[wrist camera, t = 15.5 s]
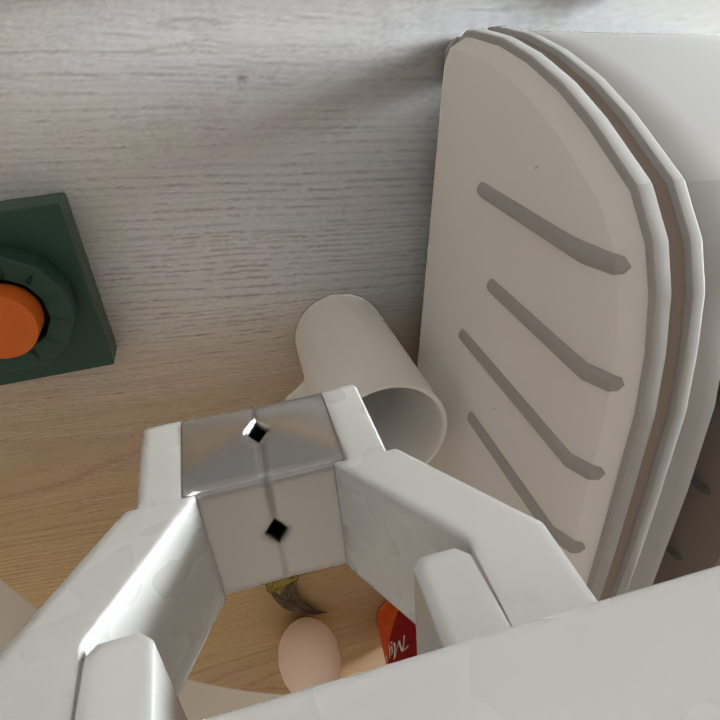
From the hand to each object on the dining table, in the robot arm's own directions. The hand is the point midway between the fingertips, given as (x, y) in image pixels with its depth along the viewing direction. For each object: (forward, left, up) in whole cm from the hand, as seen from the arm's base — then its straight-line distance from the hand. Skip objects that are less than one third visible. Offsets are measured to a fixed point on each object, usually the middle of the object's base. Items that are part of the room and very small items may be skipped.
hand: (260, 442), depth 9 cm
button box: (+8, -12, -29) cm, 32 cm away
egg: (+45, 0, -29) cm, 54 cm away
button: (+8, -12, -26) cm, 29 cm away
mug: (+16, +5, -29) cm, 34 cm away
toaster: (+20, +21, -29) cm, 41 cm away
